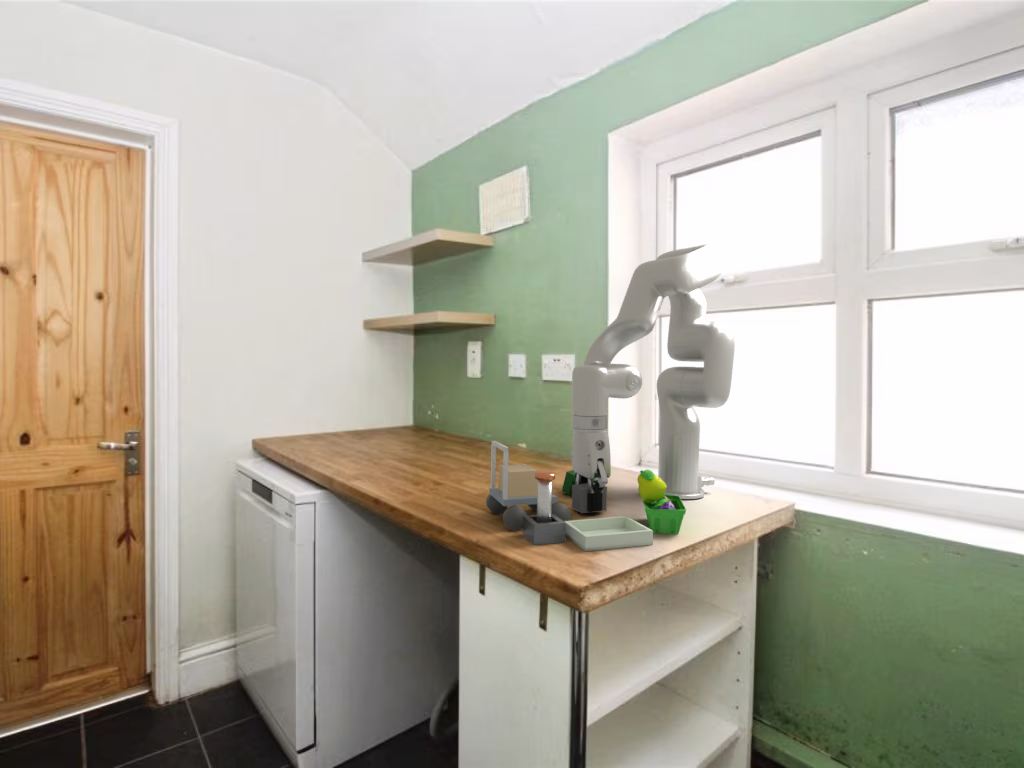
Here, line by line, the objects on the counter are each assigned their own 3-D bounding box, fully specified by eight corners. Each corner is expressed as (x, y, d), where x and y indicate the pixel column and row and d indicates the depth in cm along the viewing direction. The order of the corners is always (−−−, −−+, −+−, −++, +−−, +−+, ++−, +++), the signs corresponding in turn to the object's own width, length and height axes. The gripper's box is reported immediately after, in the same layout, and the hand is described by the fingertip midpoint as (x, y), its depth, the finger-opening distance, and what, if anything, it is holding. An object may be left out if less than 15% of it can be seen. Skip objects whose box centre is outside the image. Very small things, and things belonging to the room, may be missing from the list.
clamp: (582, 514, 128) (583, 485, 123) (562, 504, 131) (562, 475, 127) (608, 488, 135) (610, 460, 131) (589, 479, 139) (589, 451, 135)
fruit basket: (686, 537, 99) (688, 477, 98) (637, 533, 100) (639, 474, 100) (678, 519, 110) (680, 465, 109) (634, 516, 111) (636, 463, 111)
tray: (625, 528, 103) (626, 516, 103) (652, 544, 94) (653, 530, 94) (563, 534, 99) (563, 521, 99) (585, 551, 90) (585, 536, 90)
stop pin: (549, 534, 99) (550, 470, 98) (556, 540, 95) (558, 474, 95) (530, 536, 97) (532, 471, 97) (537, 542, 94) (539, 475, 94)
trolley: (544, 508, 117) (546, 437, 116) (570, 526, 104) (572, 447, 103) (485, 512, 112) (487, 439, 112) (505, 532, 99) (506, 449, 99)
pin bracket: (552, 531, 100) (552, 513, 100) (565, 542, 94) (565, 522, 94) (522, 534, 98) (522, 515, 98) (533, 545, 92) (534, 525, 92)
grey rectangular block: (596, 504, 117) (597, 482, 117) (606, 510, 113) (606, 487, 112) (572, 507, 115) (572, 484, 115) (581, 513, 111) (581, 489, 110)
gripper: (625, 427, 106) (624, 517, 107) (587, 418, 122) (587, 496, 123) (591, 429, 104) (591, 521, 105) (557, 419, 120) (557, 499, 121)
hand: (589, 506), depth 114 cm, fingers closed on grey rectangular block, 4 cm apart
